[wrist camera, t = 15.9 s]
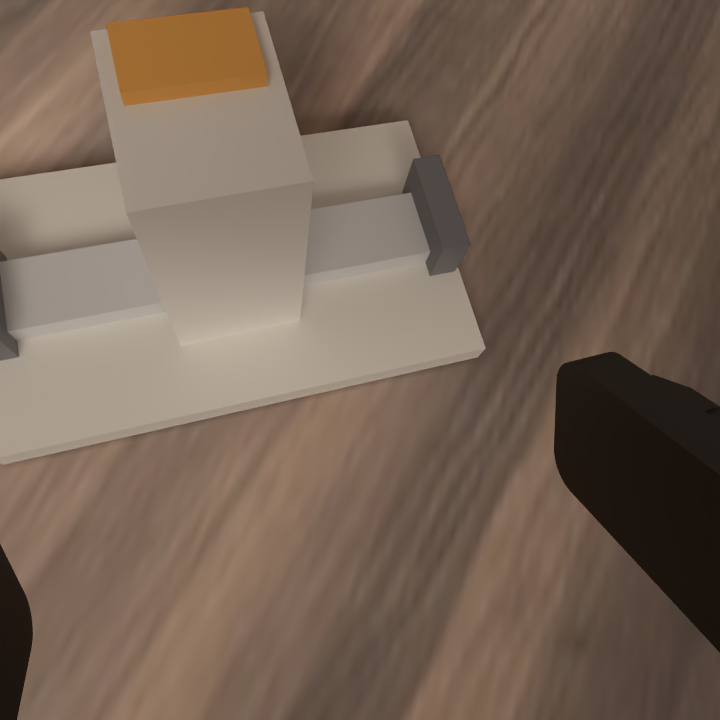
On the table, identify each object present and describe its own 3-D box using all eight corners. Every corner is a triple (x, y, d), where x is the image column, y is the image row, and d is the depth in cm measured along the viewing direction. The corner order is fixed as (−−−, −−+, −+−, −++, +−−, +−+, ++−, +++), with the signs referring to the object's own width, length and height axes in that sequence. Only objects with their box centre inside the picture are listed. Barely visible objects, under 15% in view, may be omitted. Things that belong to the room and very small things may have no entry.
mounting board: (3, 464, 25) (-41, 446, 22) (-26, 200, 28) (-68, 147, 25) (477, 357, 29) (504, 327, 26) (403, 136, 32) (418, 82, 29)
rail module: (180, 345, 26) (121, 202, 16) (153, 218, 28) (85, 16, 18) (300, 320, 27) (314, 169, 17) (267, 199, 29) (263, -3, 19)
